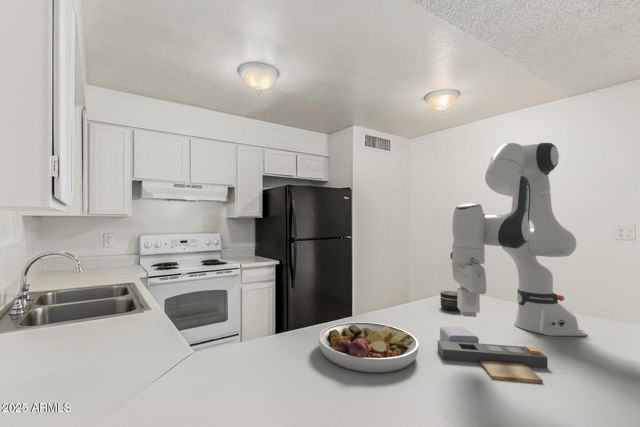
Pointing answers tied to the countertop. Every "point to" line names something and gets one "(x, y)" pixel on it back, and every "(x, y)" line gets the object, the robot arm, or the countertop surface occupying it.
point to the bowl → (368, 346)
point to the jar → (449, 301)
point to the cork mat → (510, 371)
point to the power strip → (491, 353)
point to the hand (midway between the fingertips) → (468, 302)
